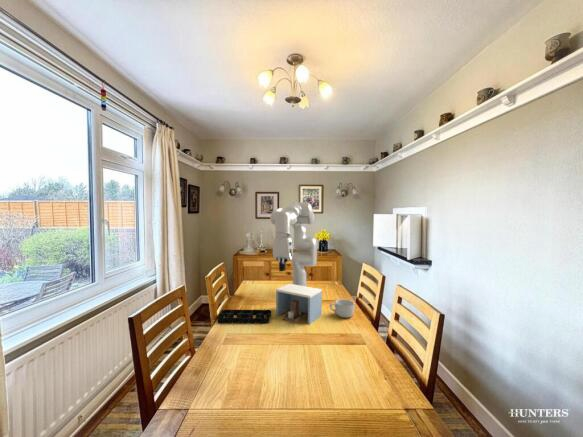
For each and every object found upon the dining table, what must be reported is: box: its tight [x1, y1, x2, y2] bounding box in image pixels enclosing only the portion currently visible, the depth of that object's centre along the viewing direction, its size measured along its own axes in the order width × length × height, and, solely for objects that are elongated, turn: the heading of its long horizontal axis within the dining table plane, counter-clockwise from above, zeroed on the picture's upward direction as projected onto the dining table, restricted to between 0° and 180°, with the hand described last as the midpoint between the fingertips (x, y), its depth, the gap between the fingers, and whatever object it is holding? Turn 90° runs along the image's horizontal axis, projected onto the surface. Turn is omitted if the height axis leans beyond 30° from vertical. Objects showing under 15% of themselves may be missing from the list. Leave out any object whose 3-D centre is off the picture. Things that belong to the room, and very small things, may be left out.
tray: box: [281, 300, 308, 325], centre depth 148 cm, size 12×9×10 cm
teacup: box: [329, 298, 355, 319], centre depth 152 cm, size 14×11×8 cm
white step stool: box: [275, 283, 323, 325], centre depth 152 cm, size 14×22×15 cm, turn 58°
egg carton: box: [216, 309, 272, 325], centre depth 146 cm, size 18×30×4 cm, turn 102°
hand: (282, 270), depth 137 cm, fingers closed
